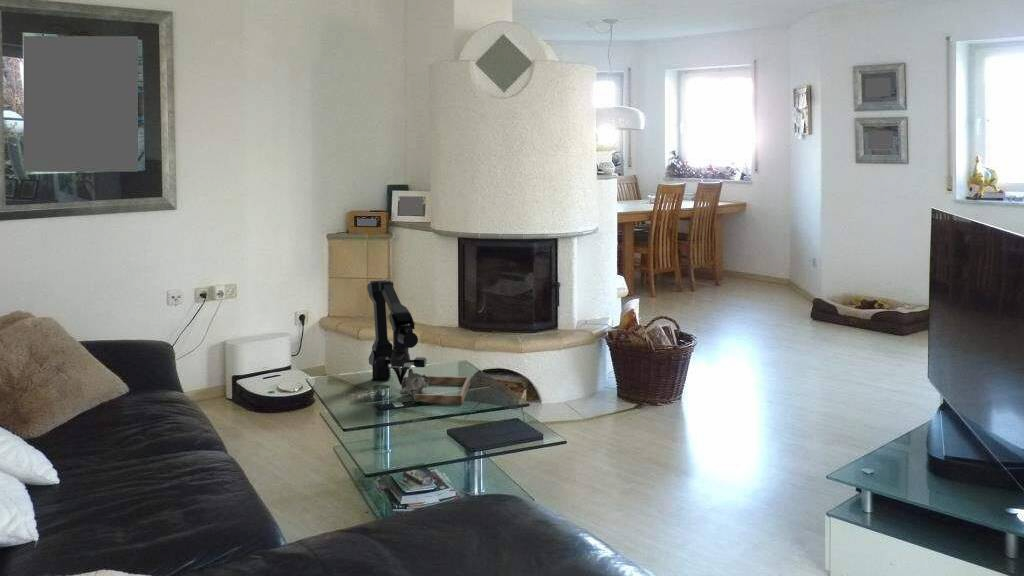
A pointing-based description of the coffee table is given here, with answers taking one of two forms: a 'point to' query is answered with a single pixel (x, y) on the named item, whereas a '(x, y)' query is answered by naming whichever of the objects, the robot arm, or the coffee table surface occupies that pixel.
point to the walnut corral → (445, 398)
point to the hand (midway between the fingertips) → (401, 384)
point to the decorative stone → (414, 383)
